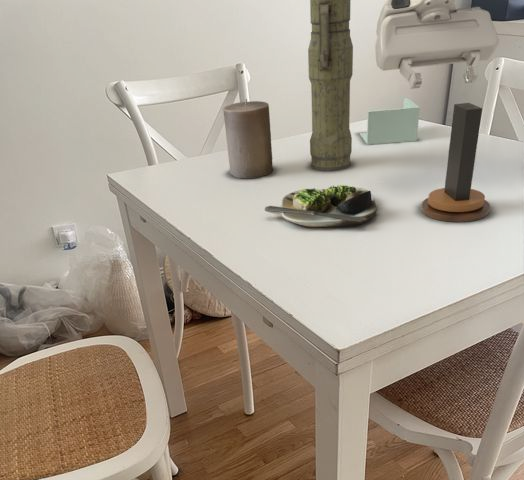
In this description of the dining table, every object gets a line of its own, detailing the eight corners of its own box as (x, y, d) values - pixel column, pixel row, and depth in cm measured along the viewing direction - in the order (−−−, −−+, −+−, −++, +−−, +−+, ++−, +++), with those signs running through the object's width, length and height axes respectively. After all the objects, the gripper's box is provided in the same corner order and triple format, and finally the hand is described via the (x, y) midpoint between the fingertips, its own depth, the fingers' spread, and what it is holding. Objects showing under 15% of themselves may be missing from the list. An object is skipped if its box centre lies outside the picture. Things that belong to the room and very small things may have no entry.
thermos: (353, 157, 123) (356, -30, 103) (348, 172, 114) (351, -30, 94) (314, 157, 125) (310, -26, 105) (307, 173, 116) (301, -25, 96)
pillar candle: (279, 166, 122) (275, 94, 113) (263, 179, 114) (258, 103, 106) (240, 165, 125) (233, 94, 116) (222, 178, 118) (213, 104, 109)
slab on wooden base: (420, 197, 95) (428, 103, 86) (470, 191, 95) (483, 98, 87) (439, 214, 87) (450, 114, 79) (493, 208, 88) (510, 108, 79)
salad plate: (263, 236, 89) (261, 209, 86) (267, 199, 104) (265, 175, 101) (381, 230, 87) (383, 202, 85) (369, 193, 102) (370, 169, 99)
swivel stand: (486, 199, 95) (487, 193, 94) (492, 222, 86) (493, 216, 86) (421, 198, 98) (421, 193, 97) (420, 221, 89) (421, 215, 88)
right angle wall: (405, 129, 140) (407, 98, 136) (416, 140, 131) (419, 107, 126) (359, 133, 141) (360, 102, 137) (367, 144, 131) (368, 111, 127)
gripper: (479, 21, 96) (496, 89, 93) (367, 32, 95) (380, 101, 93) (495, -9, 90) (513, 63, 87) (375, 2, 89) (389, 76, 86)
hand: (443, 83), depth 90 cm, fingers open, 8 cm apart
